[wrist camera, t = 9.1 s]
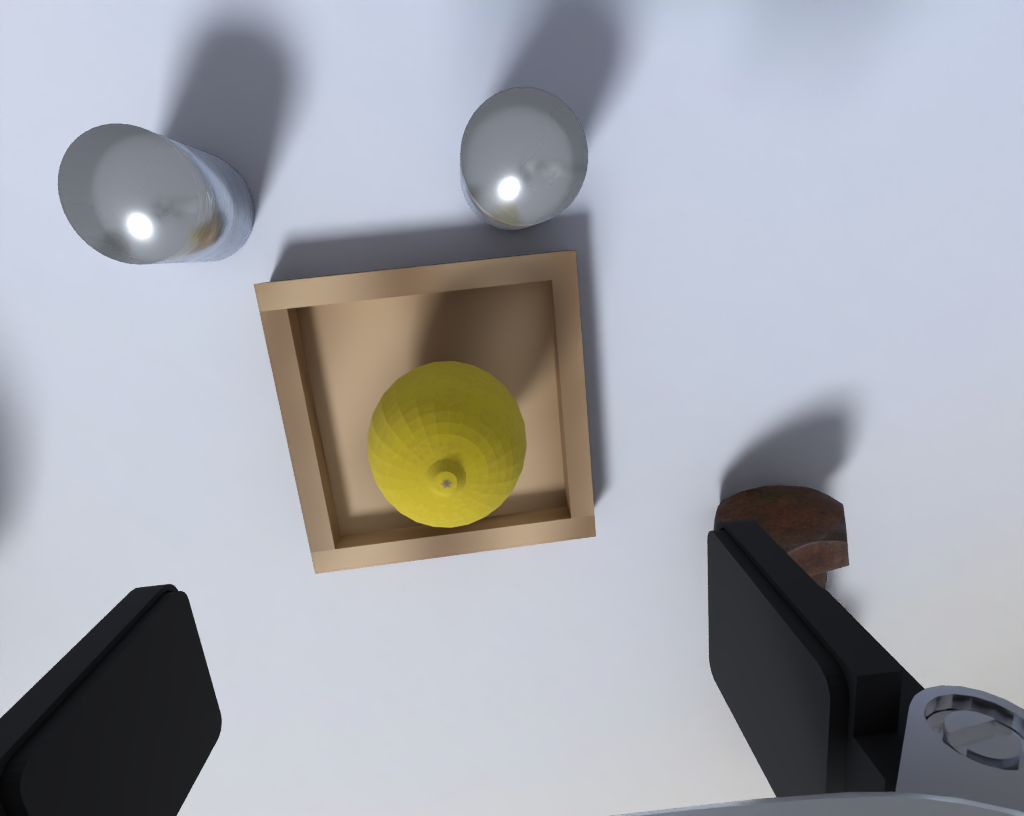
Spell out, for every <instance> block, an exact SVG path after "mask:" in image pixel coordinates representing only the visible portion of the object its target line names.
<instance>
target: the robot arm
mask: <svg viewBox="0 0 1024 816" xmlns="http://www.w3.org/2000/svg"><path fill="white" fill-rule="evenodd" d="M707 544H708V615H709V662H710V667H711V671H712V675H713V678H714V680H715V682H716V684H717V686H718V688H719V690H720V691H721V693H722V695H723V697H724V699H725V701H726V703H727V705H728V706H729V708H730V710H731V712H732V714H733V716H734V718H735V720H736V722H737V723H738V725H739V727H740V729H741V731H742V733H743V735H744V737H745V739H746V740H747V742H748V744H749V746H750V748H751V750H752V752H753V754H754V756H755V757H756V759H757V761H758V763H759V765H760V767H761V769H762V771H763V772H764V774H765V776H766V778H767V780H768V782H769V784H770V786H771V788H772V789H773V791H774V793H775V795H776V797H777V798H764V799H752V800H744V801H735V802H726V803H717V804H709V805H700V806H691V807H682V808H673V809H665V810H656V811H647V812H638V813H630V814H621V815H612V816H1024V709H1022V708H1020V707H1018V706H1017V705H1015V704H1013V703H1011V702H1009V701H1007V700H1005V699H1003V698H1000V697H997V696H995V695H992V694H989V693H987V692H984V691H980V690H976V689H971V688H966V687H962V686H936V687H931V688H926V689H924V688H923V687H922V686H921V685H920V684H919V683H918V682H917V681H916V680H915V679H914V678H913V677H912V676H911V675H910V674H909V673H908V672H907V671H906V670H905V669H904V668H903V667H902V666H901V665H900V664H899V663H898V662H897V661H896V660H895V659H894V658H893V657H892V656H891V655H890V654H889V653H888V652H887V651H886V650H885V649H884V648H883V647H882V646H881V645H880V644H879V643H878V642H877V641H876V640H875V639H874V638H873V637H872V636H871V635H870V634H869V633H868V632H867V631H866V630H865V629H864V628H863V627H862V626H861V625H860V624H859V622H858V621H857V620H856V619H855V618H854V617H853V616H852V615H851V614H850V613H849V612H848V611H847V610H846V609H845V608H844V607H843V606H842V605H841V604H840V603H839V602H838V601H837V600H836V599H835V598H834V597H833V596H832V595H831V594H830V593H829V592H827V591H826V590H825V589H823V588H822V587H820V586H819V585H818V584H817V583H816V582H815V581H814V580H813V579H812V578H811V577H810V576H809V575H808V574H807V573H806V572H805V571H804V570H803V569H802V568H801V567H800V566H799V565H798V564H797V563H796V562H795V561H794V560H793V559H792V558H791V557H790V556H789V555H788V554H787V553H786V552H785V551H784V550H783V549H782V548H781V547H780V546H779V545H778V544H777V543H776V542H775V541H774V540H773V539H772V538H771V537H770V535H769V534H768V533H767V532H766V531H765V530H764V529H763V528H762V527H761V526H760V525H759V524H758V523H757V522H756V521H755V520H753V519H752V518H751V519H741V520H732V521H723V522H719V523H718V525H717V530H716V531H710V532H709V533H708V540H707ZM221 725H222V718H221V713H220V709H219V706H218V702H217V699H216V695H215V691H214V688H213V684H212V681H211V677H210V674H209V670H208V667H207V663H206V659H205V656H204V652H203V649H202V645H201V642H200V638H199V635H198V631H197V627H196V624H195V620H194V617H193V613H192V610H191V606H190V603H189V599H188V597H187V595H186V594H185V592H183V591H178V589H177V588H176V587H175V586H174V585H171V584H166V585H157V586H148V587H140V588H135V589H134V590H132V591H131V592H130V593H129V594H128V595H127V596H126V597H125V598H124V599H123V600H122V601H120V602H119V603H118V604H117V605H116V606H115V607H114V608H113V609H112V610H111V611H110V612H109V613H108V614H107V615H106V616H105V617H104V618H103V619H102V620H101V621H100V622H99V623H98V624H97V625H96V626H95V627H94V628H93V629H92V630H91V631H90V632H89V633H88V634H87V635H86V636H85V637H84V638H82V639H81V640H80V641H79V642H78V643H77V644H76V645H75V646H74V647H73V648H72V649H71V650H70V651H69V652H68V653H67V654H66V655H65V656H64V657H63V658H62V659H61V660H60V661H59V662H58V663H57V664H56V665H55V666H54V667H53V668H52V669H51V670H50V671H49V672H48V673H47V674H46V675H44V676H43V677H42V678H41V679H40V680H39V681H38V682H37V683H36V684H35V685H34V686H33V687H32V688H31V689H30V690H29V691H28V692H27V693H26V694H25V695H24V696H23V697H22V698H21V699H20V700H19V701H18V702H17V703H16V704H15V705H14V706H13V707H12V708H11V709H10V710H9V711H7V712H6V713H5V714H4V715H3V716H2V717H1V718H0V816H177V814H178V812H179V810H180V808H181V806H182V805H183V803H184V801H185V799H186V797H187V795H188V793H189V792H190V790H191V788H192V786H193V784H194V782H195V781H196V779H197V777H198V775H199V773H200V771H201V769H202V768H203V766H204V764H205V762H206V760H207V758H208V757H209V755H210V753H211V751H212V749H213V747H214V746H215V744H216V742H217V740H218V738H219V735H220V731H221Z"/></svg>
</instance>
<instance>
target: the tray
mask: <svg viewBox="0 0 1024 816" xmlns="http://www.w3.org/2000/svg"><path fill="white" fill-rule="evenodd" d="M254 288H255V292H256V297H257V302H258V306H259V311H260V316H261V321H262V325H263V330H264V335H265V339H266V344H267V349H268V353H269V358H270V363H271V368H272V372H273V377H274V382H275V386H276V391H277V396H278V401H279V405H280V410H281V415H282V419H283V424H284V429H285V433H286V438H287V443H288V448H289V452H290V457H291V462H292V466H293V471H294V476H295V481H296V485H297V490H298V495H299V499H300V504H301V509H302V513H303V518H304V523H305V528H306V532H307V537H308V542H309V546H310V551H311V556H312V561H313V565H314V570H315V574H318V573H325V572H333V571H340V570H348V569H355V568H363V567H370V566H378V565H385V564H393V563H400V562H408V561H415V560H423V559H430V558H438V557H445V556H452V555H460V554H467V553H475V552H482V551H490V550H497V549H505V548H512V547H520V546H527V545H535V544H542V543H550V542H557V541H565V540H572V539H580V538H587V537H595V536H596V531H595V516H594V502H593V488H592V474H591V459H590V445H589V431H588V417H587V402H586V388H585V374H584V359H583V345H582V331H581V317H580V302H579V288H578V274H577V259H576V250H566V251H556V252H547V253H537V254H528V255H519V256H509V257H500V258H490V259H481V260H471V261H462V262H452V263H443V264H434V265H424V266H415V267H405V268H396V269H386V270H377V271H367V272H358V273H349V274H339V275H330V276H320V277H311V278H301V279H292V280H282V281H273V282H265V283H259V284H254ZM443 361H456V362H461V363H466V364H471V365H474V366H476V367H478V368H480V369H482V370H484V371H487V372H489V373H490V374H491V375H493V376H494V377H495V378H496V379H497V380H499V381H500V382H501V383H502V384H503V385H504V386H505V387H506V388H507V389H508V391H509V392H510V394H511V395H512V396H513V398H514V399H515V401H516V402H517V404H518V407H519V409H520V412H521V415H522V417H523V420H524V423H525V431H526V442H527V447H526V453H525V459H524V465H523V469H522V472H521V474H520V476H519V478H518V481H517V483H516V485H515V487H514V489H513V491H512V492H511V493H510V495H509V496H508V497H507V498H506V499H505V501H504V502H503V503H502V504H501V506H499V507H498V508H497V509H495V510H494V511H493V512H491V513H490V514H489V515H487V516H486V517H484V518H482V519H480V520H478V521H475V522H473V523H471V524H468V525H463V526H458V527H452V528H448V527H433V526H429V525H425V524H422V523H418V522H416V521H414V520H412V519H410V518H409V517H407V516H405V515H403V514H401V513H400V512H399V511H398V510H397V509H396V508H395V507H394V506H393V505H392V504H390V503H389V502H388V501H387V500H386V498H385V497H384V495H383V494H382V492H381V490H380V489H379V487H378V486H377V484H376V482H375V480H374V476H373V473H372V470H371V467H370V464H369V460H368V431H369V427H370V423H371V419H372V415H373V412H374V410H375V408H376V406H377V405H378V403H379V401H380V399H381V397H382V395H383V394H384V393H385V392H386V391H387V390H388V389H389V387H390V386H391V385H392V384H393V383H394V382H395V381H396V380H397V379H398V378H400V377H401V376H403V375H405V374H406V373H408V372H409V371H411V370H413V369H414V368H416V367H419V366H423V365H426V364H429V363H432V362H443Z"/></svg>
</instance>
